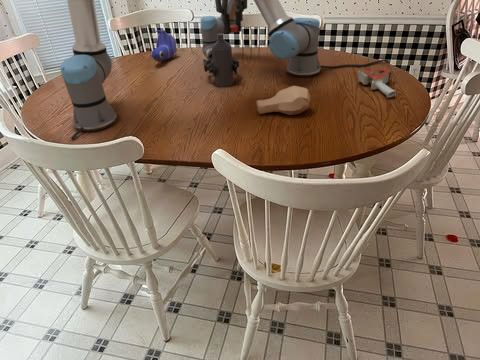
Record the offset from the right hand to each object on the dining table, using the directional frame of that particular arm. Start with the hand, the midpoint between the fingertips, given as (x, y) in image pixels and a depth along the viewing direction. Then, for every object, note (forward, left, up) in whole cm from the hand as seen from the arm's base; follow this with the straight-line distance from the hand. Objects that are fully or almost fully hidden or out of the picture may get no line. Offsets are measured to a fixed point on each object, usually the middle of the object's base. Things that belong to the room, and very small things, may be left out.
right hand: (225, 71), depth 151 cm
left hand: (-2, +12, +19) cm, 23 cm away
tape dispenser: (-57, +25, -7) cm, 63 cm away
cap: (-1, +12, +20) cm, 24 cm away
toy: (+23, -48, -7) cm, 54 cm away
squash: (-14, +33, -7) cm, 36 cm away
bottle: (0, -5, -7) cm, 8 cm away
